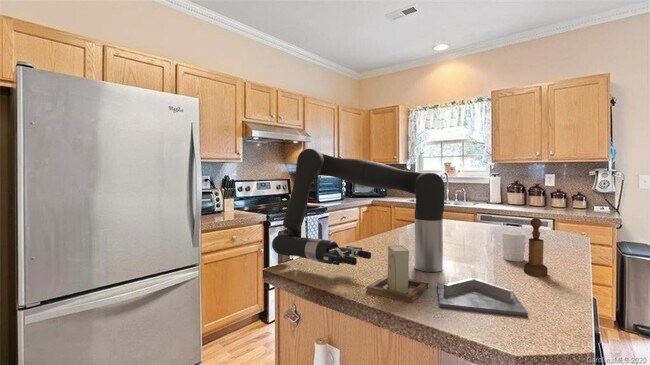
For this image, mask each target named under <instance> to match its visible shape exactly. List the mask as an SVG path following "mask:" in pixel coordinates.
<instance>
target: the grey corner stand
mask: <svg viewBox="0 0 650 365" xmlns="http://www.w3.org/2000/svg"><path fill="white" fill-rule="evenodd" d="M436 286H437V294H438V302H439V304H438V305H439V308H441V309H449V310H451V309H452V310H460V311H466V312H467V311H470V312H479V313H487V314H495V315H496V314H497V315H504V316H512V317H523V318H528V317H529V312H528V311H527V309H526V308H525V307H524V305H523V304H522V303H521V301H520V300H519V299H518V297H517V296H516V294H515V293H514V290H512V289H511V288H509V287H504V286H501V285H499V284H498V285H497V284H495V283H492V282H488V281H485V280H482V279H478V278H476V277H474V278H473V277H469V278H465V279H461V280H457V281H453V282H441V281H440V282H439V281H437V282H436Z"/></svg>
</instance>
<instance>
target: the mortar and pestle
mask: <svg viewBox="0 0 650 365" xmlns="http://www.w3.org/2000/svg"><path fill="white" fill-rule="evenodd" d="M530 225H531V226H532V229H533V231H532V232H531V234H532V238H528V261H527V262H526V263H524V264H523V272H524V273H525V274H527V275H530V276H536V277H547V276H548V267H547V266H546V265H545V264H544V239H541V238H540V237H541V232H540V228H541V226H542V220H541V219H540V218H538V217H535V218H532V219H531V220H530Z"/></svg>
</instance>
